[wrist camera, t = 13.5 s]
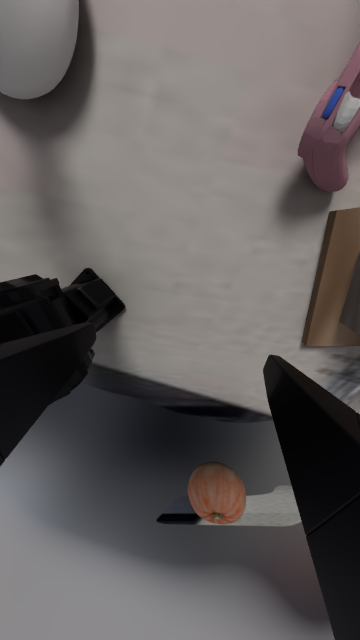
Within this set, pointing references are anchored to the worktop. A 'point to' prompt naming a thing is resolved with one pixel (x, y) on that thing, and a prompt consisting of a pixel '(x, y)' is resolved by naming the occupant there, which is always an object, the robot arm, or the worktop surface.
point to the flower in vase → (36, 45)
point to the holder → (337, 285)
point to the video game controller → (333, 129)
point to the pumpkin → (217, 493)
